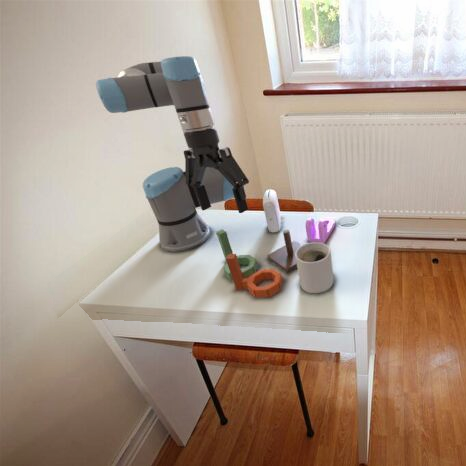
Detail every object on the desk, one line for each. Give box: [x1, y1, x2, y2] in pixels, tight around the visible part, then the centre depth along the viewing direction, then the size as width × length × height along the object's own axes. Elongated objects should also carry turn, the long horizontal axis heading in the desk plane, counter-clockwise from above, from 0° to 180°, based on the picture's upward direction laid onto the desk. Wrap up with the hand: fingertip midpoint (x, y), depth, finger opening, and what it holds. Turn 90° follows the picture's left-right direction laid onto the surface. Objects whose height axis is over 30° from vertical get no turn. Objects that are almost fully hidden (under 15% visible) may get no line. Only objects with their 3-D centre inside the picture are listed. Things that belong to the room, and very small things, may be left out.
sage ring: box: [216, 229, 259, 282], centre depth 91 cm, size 12×8×10 cm
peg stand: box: [266, 229, 303, 274], centre depth 94 cm, size 10×10×10 cm
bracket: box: [305, 217, 336, 244], centre depth 106 cm, size 13×6×7 cm, turn 163°
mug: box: [295, 242, 335, 294], centre depth 85 cm, size 11×10×10 cm
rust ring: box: [225, 253, 283, 299], centre depth 84 cm, size 12×8×10 cm
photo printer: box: [262, 189, 282, 233], centre depth 110 cm, size 10×4×12 cm, turn 8°
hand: (224, 209), depth 88 cm, fingers open, 13 cm apart
